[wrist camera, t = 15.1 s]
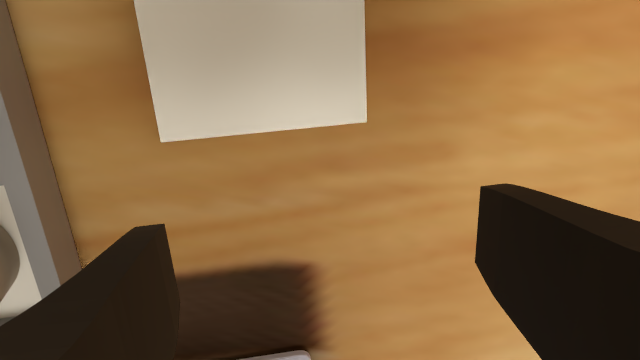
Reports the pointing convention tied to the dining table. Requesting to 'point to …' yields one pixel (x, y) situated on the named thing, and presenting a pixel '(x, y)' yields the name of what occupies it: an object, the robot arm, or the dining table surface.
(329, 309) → the dining table surface
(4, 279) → the cylinder
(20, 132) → the shallow grey tray
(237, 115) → the plate
